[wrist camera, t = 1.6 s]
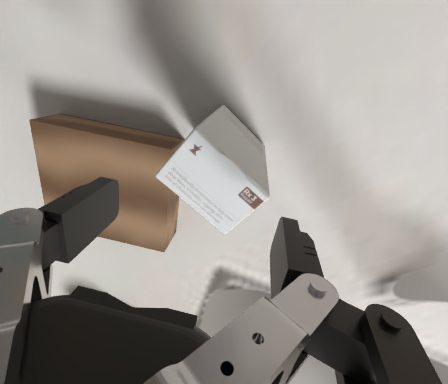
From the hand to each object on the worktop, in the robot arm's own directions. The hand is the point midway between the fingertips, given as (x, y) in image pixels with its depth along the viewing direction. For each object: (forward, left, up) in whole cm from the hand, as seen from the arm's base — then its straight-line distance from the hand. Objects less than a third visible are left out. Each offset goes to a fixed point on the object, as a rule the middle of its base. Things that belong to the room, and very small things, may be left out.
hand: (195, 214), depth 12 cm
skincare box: (0, 0, -15) cm, 15 cm away
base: (+7, -12, -15) cm, 20 cm away
